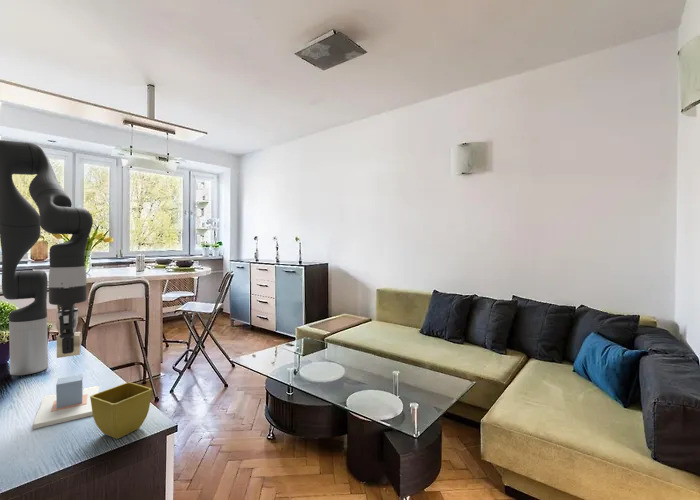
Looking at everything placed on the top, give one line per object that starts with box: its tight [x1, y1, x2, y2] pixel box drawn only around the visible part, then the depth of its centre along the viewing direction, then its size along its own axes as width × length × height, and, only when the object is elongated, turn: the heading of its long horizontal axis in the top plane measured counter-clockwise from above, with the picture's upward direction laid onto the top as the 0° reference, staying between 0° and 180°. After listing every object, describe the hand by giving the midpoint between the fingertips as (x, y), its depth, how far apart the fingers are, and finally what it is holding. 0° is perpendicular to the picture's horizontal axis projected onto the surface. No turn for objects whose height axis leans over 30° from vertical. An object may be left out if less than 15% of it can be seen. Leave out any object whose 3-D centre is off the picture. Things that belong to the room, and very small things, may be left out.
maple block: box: [56, 331, 82, 359], centre depth 88 cm, size 4×4×5 cm
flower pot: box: [90, 381, 153, 440], centre depth 77 cm, size 9×9×9 cm
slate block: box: [55, 373, 84, 408], centre depth 89 cm, size 5×5×6 cm
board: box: [32, 385, 100, 430], centre depth 89 cm, size 18×12×1 cm, turn 36°
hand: (68, 350), depth 88 cm, fingers closed on maple block, 4 cm apart
